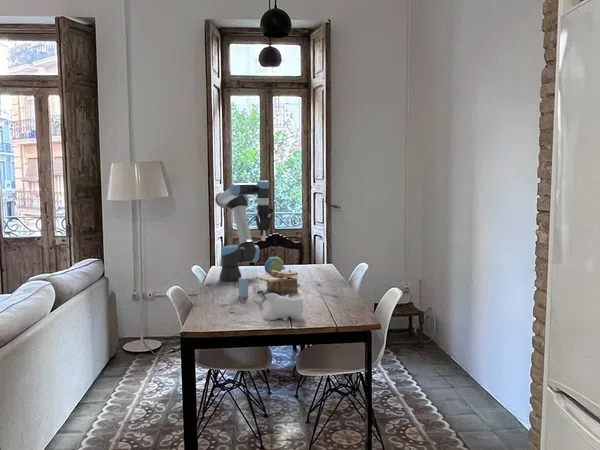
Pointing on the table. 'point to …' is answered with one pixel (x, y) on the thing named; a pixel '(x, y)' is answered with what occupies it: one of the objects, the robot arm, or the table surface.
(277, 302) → the fox head
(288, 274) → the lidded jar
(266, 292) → the pair of grey bars
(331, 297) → the table surface
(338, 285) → the table surface
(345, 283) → the table surface
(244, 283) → the blue-grey block
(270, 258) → the globe
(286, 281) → the toolbox
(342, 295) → the table surface
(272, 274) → the lid
